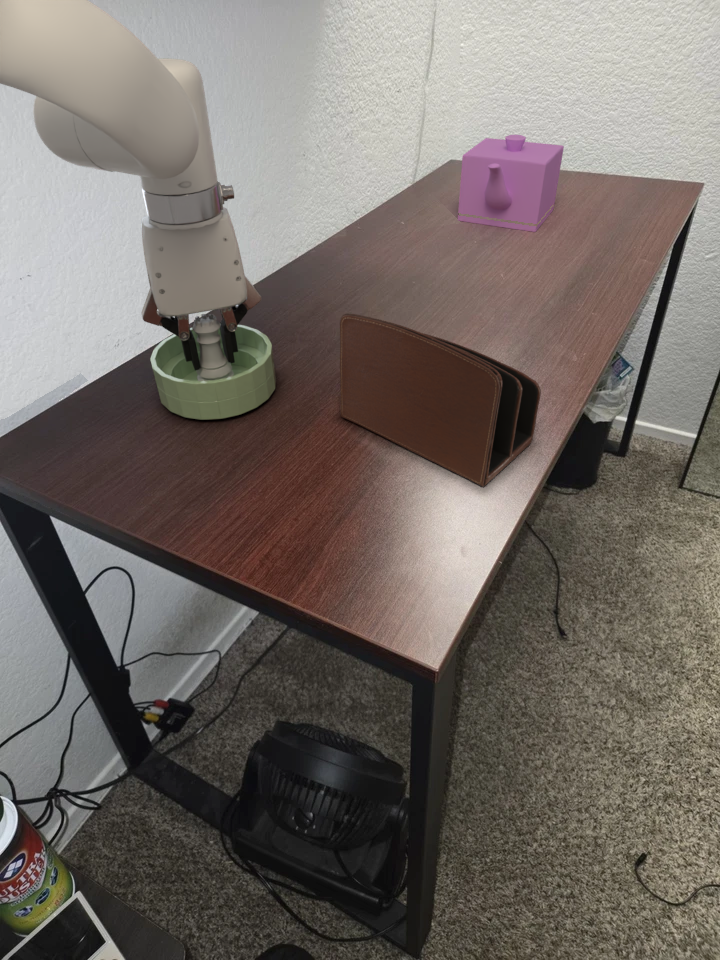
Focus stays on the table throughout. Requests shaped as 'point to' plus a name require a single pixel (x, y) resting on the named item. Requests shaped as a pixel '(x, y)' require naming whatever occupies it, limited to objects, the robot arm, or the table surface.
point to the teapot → (509, 182)
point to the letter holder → (435, 397)
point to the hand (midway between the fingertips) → (212, 359)
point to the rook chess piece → (210, 350)
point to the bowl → (220, 395)
